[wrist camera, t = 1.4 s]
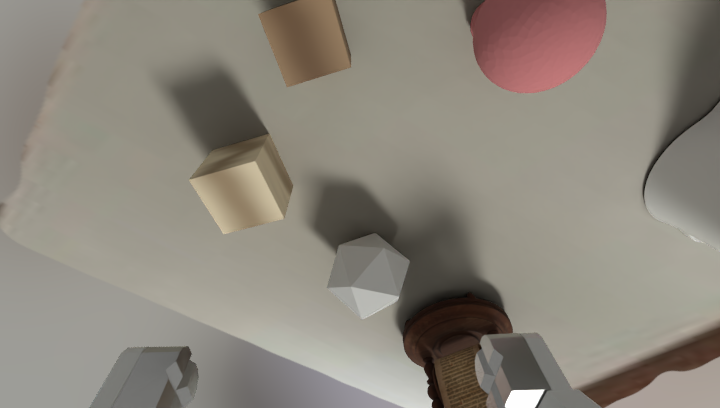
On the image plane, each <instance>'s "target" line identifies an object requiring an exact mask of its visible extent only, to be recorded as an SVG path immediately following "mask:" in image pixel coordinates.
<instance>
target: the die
mask: <svg viewBox="0 0 720 408" xmlns="http://www.w3.org/2000/svg"><path fill="white" fill-rule="evenodd" d="M409 263H410V261H409V260H408V259H407V258H406V257H405V256H403V255H402V254H401V253H400V252H398V251H397V250H396V249H395V248H393V247H392V246H391V245H390V244H388V243H387V242H386V241H385V240H384V239H382V238H381V237H380V236H379V235H377V234H376V233H373V234H370V235H367V236H364V237H361V238H358V239H355V240H352V241H349V242H347V243H344V244H341V245H339V247H338V250H337V254H336V257H335V261H334V264H333V268H332V272H331V275H330V279H329V282H328V286H327V288H328V289H329V290H330V291H331V292H332V293H333V294H334V295H335V296H336V297H337V298H339V299H340V300H341V301H342V302H343V303H344V304H345V305H346V306H347V307H348V308H350V309H351V310H352V311H353V312H354V313H355V314H356V315H357V316H358V317H359V318H361V319H364V318H366V317H368V316H370V315H372V314H374V313H376V312H378V311H380V310H382V309H384V308H386V307H388V306H390V305H391V304H393V303H395V302H397V300H398V298H399V296H400V292H401V289H402V286H403V283H404V279H405V276H406V273H407V269H408V266H409Z"/></svg>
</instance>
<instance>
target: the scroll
mask: <svg viewBox="0 0 720 408" xmlns="http://www.w3.org/2000/svg"><path fill="white" fill-rule="evenodd" d="M509 333H513V329H512V325H511V322H510V320H509V318H508V316H507V314H506V313H505V311H504V310H503V309H502V308H500V307H499V306H498V305H496V304H494V303H492V302H489V301H486V300H483V299H477V298H476V297H475V296H474V295H473V294H472V293H470V292H469V293H468V294H467V298H455V299H449V300H445V301H441V302H438V303H435V304H433V305H430V306H428V307H426V308H425V309H423V310H421V311H420V312H418V313H417V314H416V315H415V316H414V317H413V318H412V319H411V320H410V321H409V320H407V321H406V324H405V329H404V332H403V343H404V349H405V352H406V354H407V356H408V357H409V358H410V359H411V360H412V361H413V362H414V363H416V364H417V365H419V366H421V367H423V368H424V371H425V373H426V374H427V376H428V378H429V379H428V381H427V383H428V384H429V385H430V386H429V387H428V395H429V397H430V398H431V399H432V400H433V402H432V408H444V407H445V408H487V405H486V401H487V397H488V394H487V393H486V392H485V391H484V390H483V389H482V388H481V387H480V385H479V382H478V379H477V376H476V371H475V358H476V354H477V352H478V351H479V350H481V349H482V347H481V344H480V341H481V338H482V337H483V336H484V335H491V334H509Z"/></svg>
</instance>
